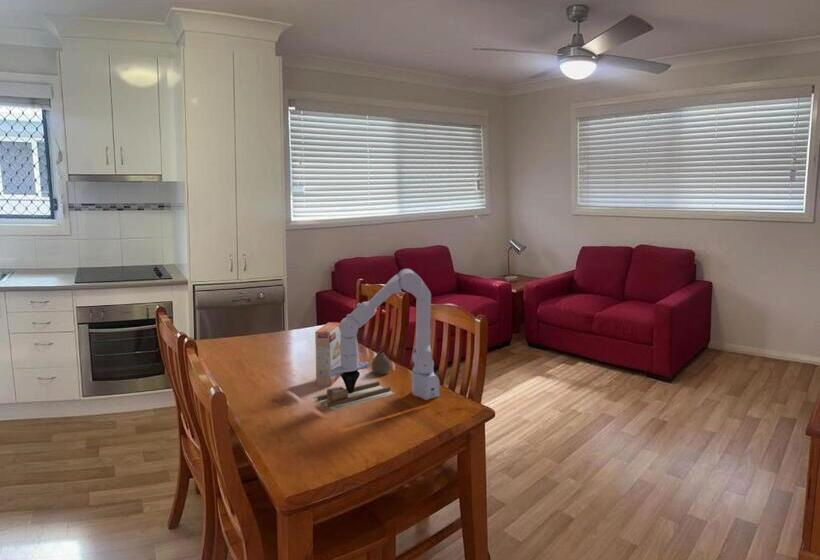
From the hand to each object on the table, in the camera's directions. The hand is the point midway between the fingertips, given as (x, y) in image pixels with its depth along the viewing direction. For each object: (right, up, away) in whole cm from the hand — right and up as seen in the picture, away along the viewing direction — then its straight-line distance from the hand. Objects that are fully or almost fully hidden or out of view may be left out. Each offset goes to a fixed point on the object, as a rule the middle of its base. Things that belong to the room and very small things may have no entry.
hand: (350, 392), depth 193 cm
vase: (+9, +2, +24) cm, 26 cm away
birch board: (+1, -2, +2) cm, 3 cm away
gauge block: (-4, -2, -3) cm, 5 cm away
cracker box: (-9, 0, +17) cm, 19 cm away
